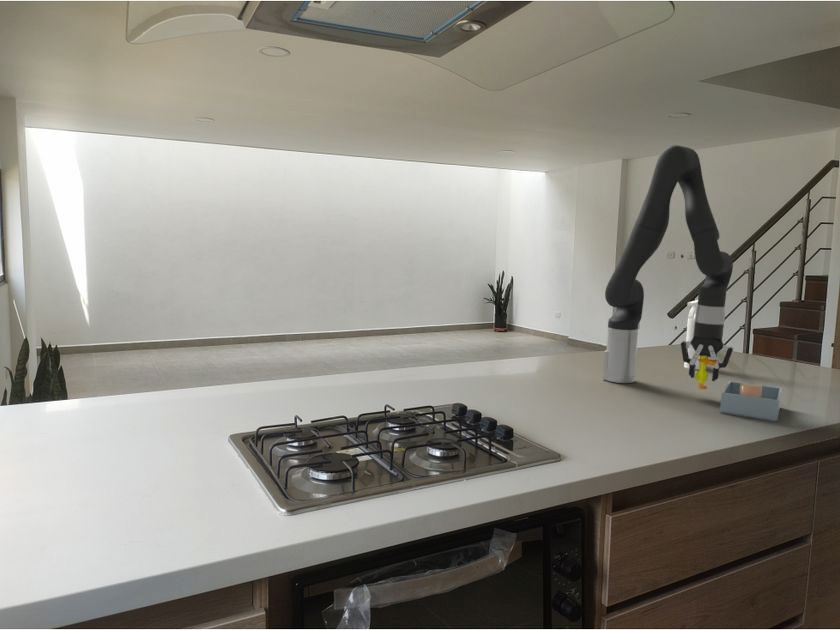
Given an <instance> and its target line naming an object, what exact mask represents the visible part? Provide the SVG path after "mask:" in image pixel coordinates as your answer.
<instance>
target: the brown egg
mask: <svg viewBox="0 0 840 630" xmlns="http://www.w3.org/2000/svg"><path fill="white" fill-rule="evenodd" d="M760 385H761V384H757V383H747V384H740V395H744V396H751V397H758V398H761V395H762V386H763V385H762V386H760Z"/></svg>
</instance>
